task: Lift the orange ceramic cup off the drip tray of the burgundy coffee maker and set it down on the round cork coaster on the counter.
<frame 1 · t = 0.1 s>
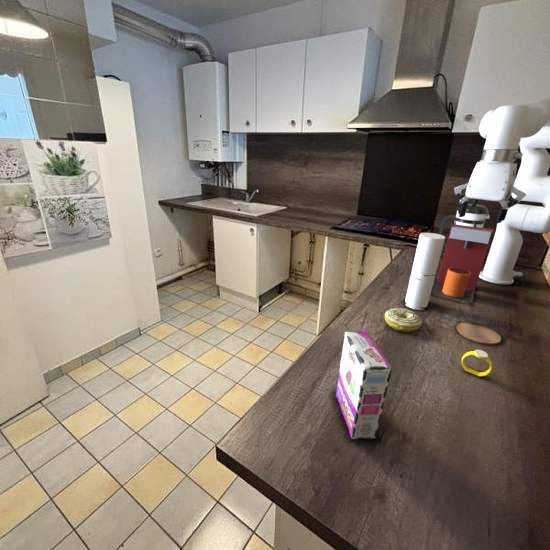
hand: (479, 219, 86), 31 cm above the worktop, tool pointing down, fingers open, 9 cm apart
coffee maker: (453, 291, 113), on the worktop
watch: (472, 373, 71), on the worktop
coffee press: (455, 258, 149), on the worktop
coaster: (477, 333, 86), on the worktop
candy bar box: (354, 415, 59), on the worktop
decorated donut: (401, 325, 90), on the worktop
cup: (452, 292, 109), point 1 cm above the worktop, touching coffee maker
cylindrical container: (415, 305, 102), on the worktop
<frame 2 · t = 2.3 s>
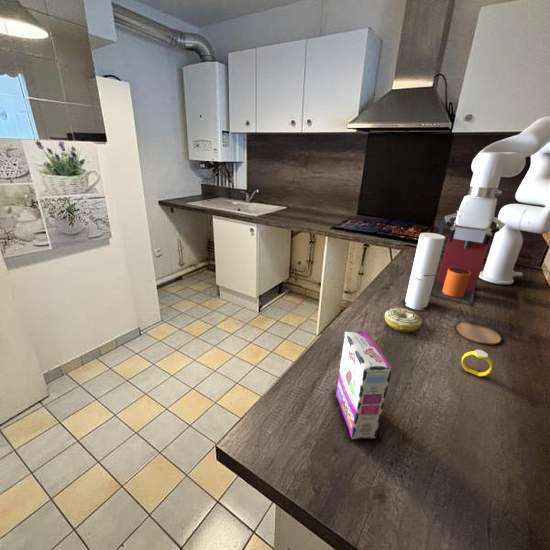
hand: (466, 243, 101), 20 cm above the worktop, tool pointing down, fingers open, 9 cm apart
nothing on the worktop moved.
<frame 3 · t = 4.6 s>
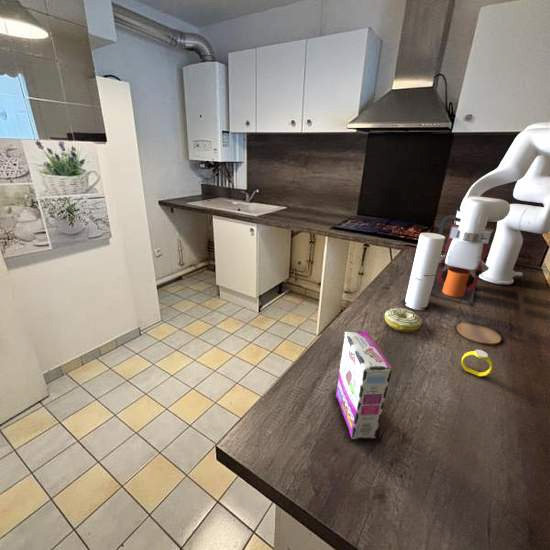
hand: (455, 282, 107), 5 cm above the worktop, tool pointing down, fingers closed on cup, 7 cm apart
cup: (452, 292, 109), point 1 cm above the worktop, touching coffee maker, gripper
everything else where it was.
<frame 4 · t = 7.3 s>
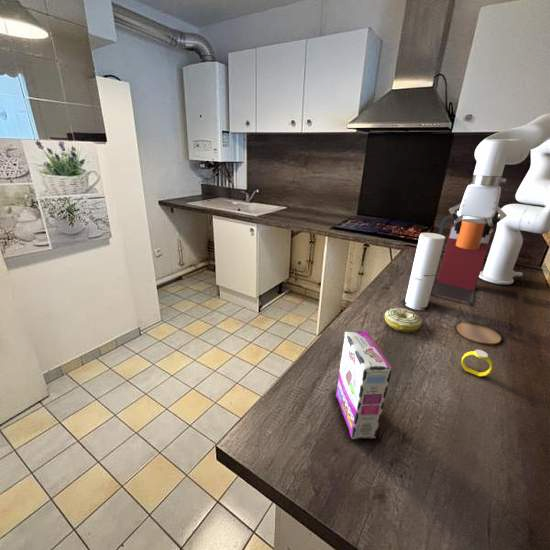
hand: (470, 234, 100), 23 cm above the worktop, tool pointing down, fingers closed on cup, 7 cm apart
cup: (467, 246, 102), point 19 cm above the worktop, touching gripper
everything else where it was.
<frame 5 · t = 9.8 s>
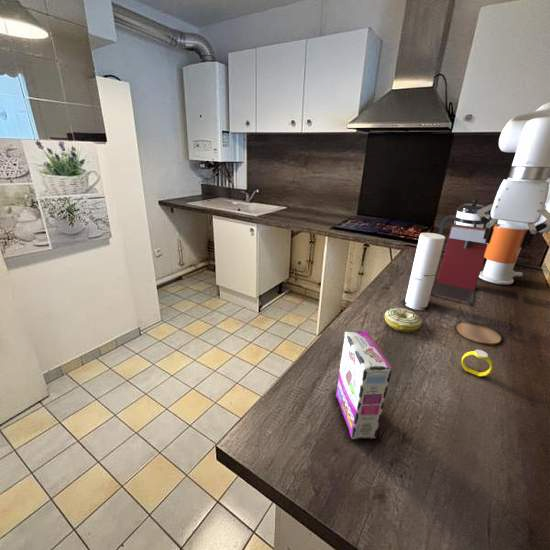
hand: (504, 244, 78), 27 cm above the worktop, tool pointing down, fingers closed on cup, 7 cm apart
cup: (499, 259, 79), point 23 cm above the worktop, touching gripper
everything else where it was.
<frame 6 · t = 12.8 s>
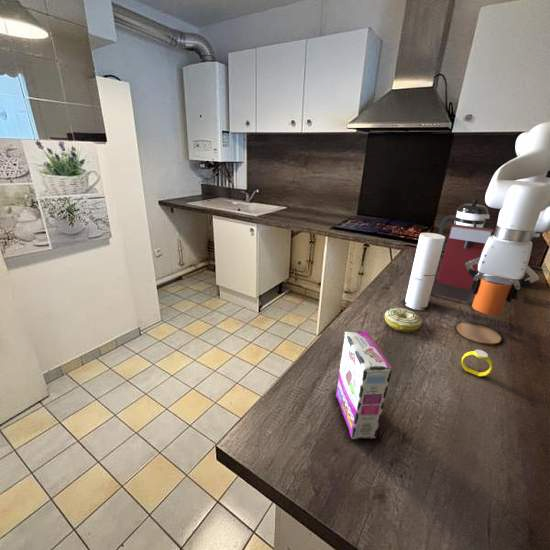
hand: (491, 295, 81), 13 cm above the worktop, tool pointing down, fingers closed on cup, 7 cm apart
cup: (486, 309, 83), point 8 cm above the worktop, touching gripper
everything else where it was.
when the fingers open (5 cm above the worktop, at t = 15.2 s): cup stays where it is, resting on coaster.
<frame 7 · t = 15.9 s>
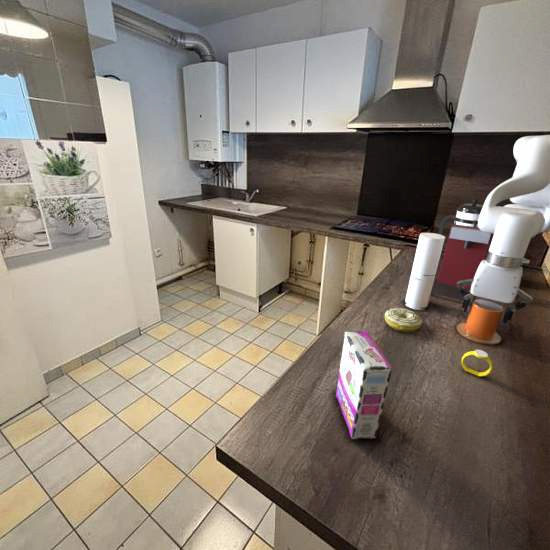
hand: (484, 315, 84), 6 cm above the worktop, tool pointing down, fingers open, 9 cm apart
cup: (478, 332, 86), resting on coaster
everything else where it was.
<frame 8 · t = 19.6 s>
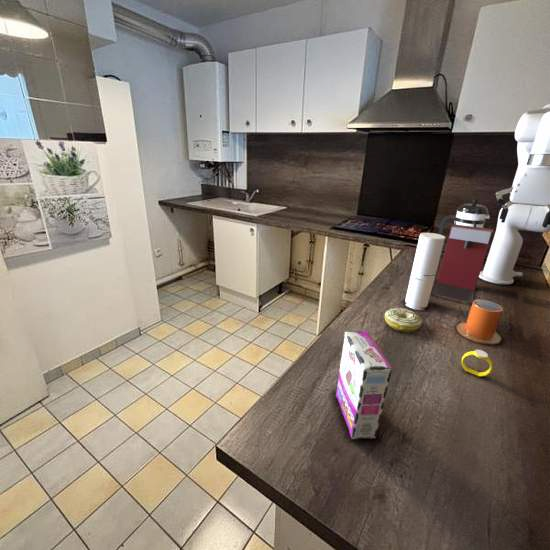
hand: (522, 224, 85), 30 cm above the worktop, tool pointing down, fingers open, 9 cm apart
nothing on the worktop moved.
at the end: cup 0.0 cm off-centre on the coaster, point 0.5 cm above the coaster's base; cup tilted 0°; cup touching coaster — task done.
